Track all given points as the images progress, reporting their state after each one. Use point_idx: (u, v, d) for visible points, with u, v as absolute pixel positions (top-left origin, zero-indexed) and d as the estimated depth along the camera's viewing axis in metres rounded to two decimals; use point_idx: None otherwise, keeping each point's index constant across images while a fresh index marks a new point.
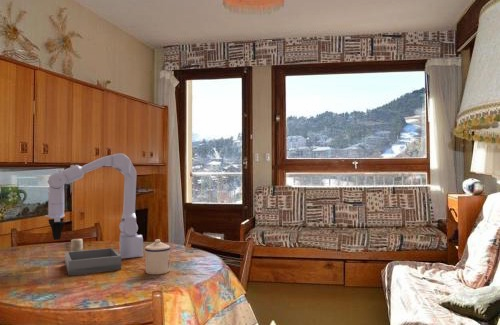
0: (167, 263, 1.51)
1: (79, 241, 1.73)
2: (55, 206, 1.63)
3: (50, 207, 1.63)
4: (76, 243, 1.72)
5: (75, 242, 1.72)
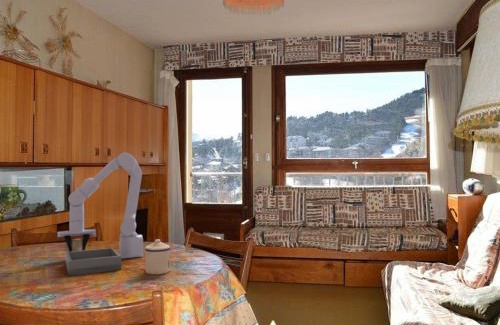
0: (167, 263, 1.51)
1: (79, 241, 1.73)
2: None
3: None
4: (76, 243, 1.72)
5: (75, 242, 1.72)
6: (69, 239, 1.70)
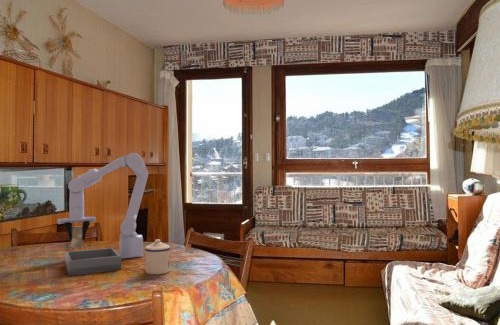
0: (167, 263, 1.51)
1: (79, 228, 1.73)
2: None
3: None
4: (76, 230, 1.72)
5: (75, 229, 1.72)
6: (69, 226, 1.70)
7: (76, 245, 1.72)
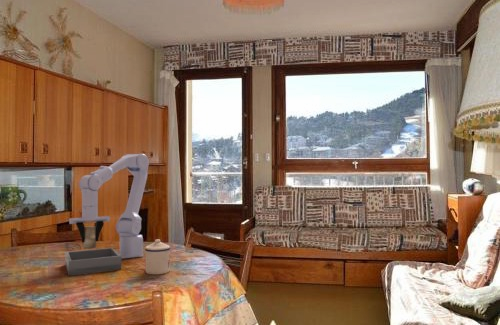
0: (167, 263, 1.51)
1: (92, 228, 1.61)
2: (82, 208, 1.61)
3: None
4: (90, 230, 1.60)
5: (88, 229, 1.60)
6: (82, 226, 1.58)
7: (89, 246, 1.60)
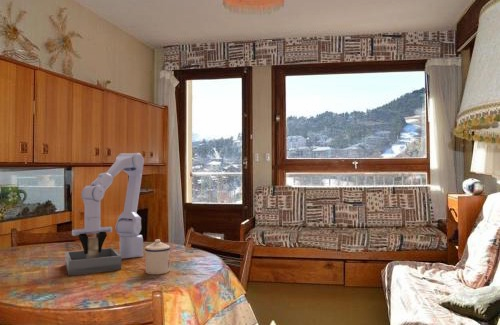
0: (167, 263, 1.51)
1: (96, 239, 1.59)
2: None
3: None
4: (93, 241, 1.58)
5: (92, 240, 1.58)
6: (86, 237, 1.56)
7: None
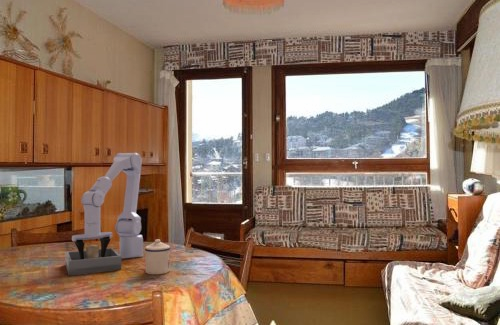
0: (167, 263, 1.51)
1: (96, 247, 1.59)
2: None
3: None
4: (93, 249, 1.58)
5: (92, 249, 1.58)
6: (82, 243, 1.55)
7: None
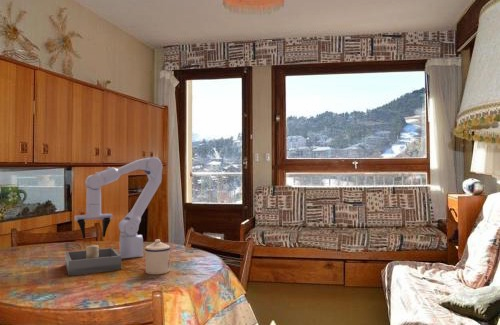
0: (167, 263, 1.51)
1: (96, 247, 1.59)
2: (86, 206, 1.71)
3: None
4: (93, 249, 1.58)
5: (92, 249, 1.58)
6: (83, 223, 1.67)
7: None
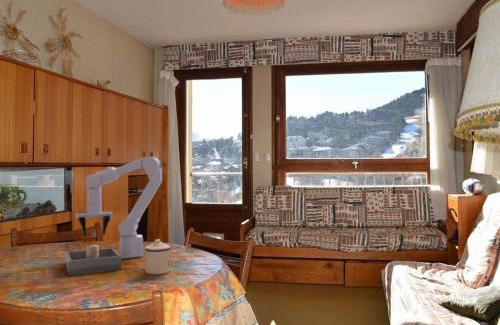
0: (167, 263, 1.51)
1: (96, 248, 1.59)
2: (87, 204, 1.77)
3: None
4: (93, 249, 1.58)
5: (92, 249, 1.58)
6: (84, 221, 1.74)
7: None
